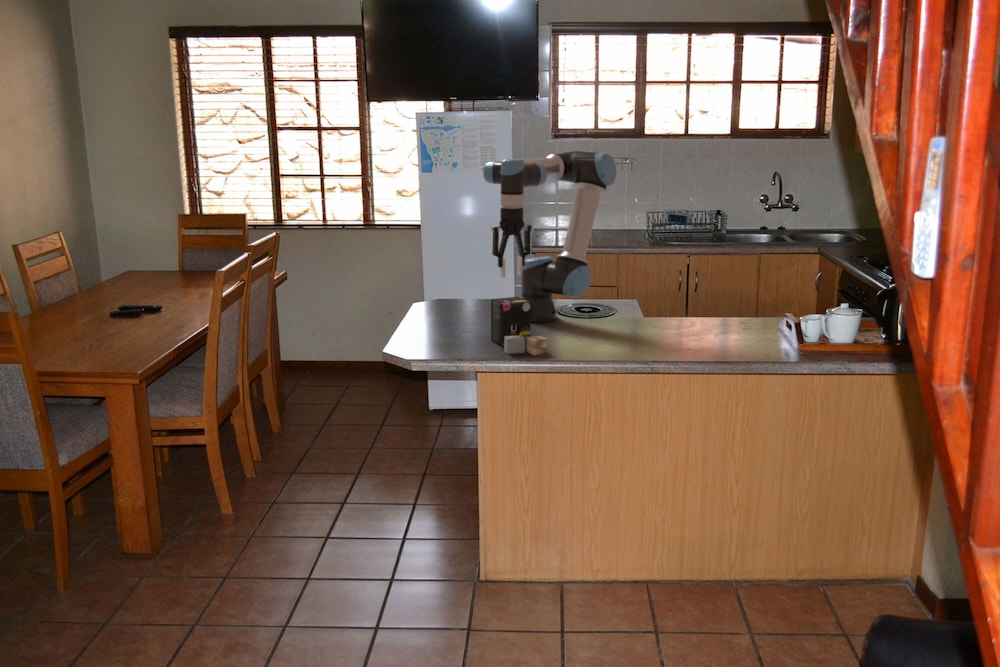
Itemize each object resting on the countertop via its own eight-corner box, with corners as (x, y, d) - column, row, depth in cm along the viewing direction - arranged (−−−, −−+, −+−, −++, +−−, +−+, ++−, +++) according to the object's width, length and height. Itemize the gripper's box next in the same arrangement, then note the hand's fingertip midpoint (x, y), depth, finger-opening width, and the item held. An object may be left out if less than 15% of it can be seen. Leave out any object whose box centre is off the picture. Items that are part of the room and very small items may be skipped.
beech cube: (538, 349, 296) (538, 334, 295) (546, 353, 292) (547, 338, 291) (525, 351, 294) (526, 336, 293) (533, 355, 290) (533, 340, 288)
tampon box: (502, 346, 299) (502, 304, 295) (490, 340, 307) (490, 298, 303) (531, 343, 304) (531, 301, 300) (518, 336, 312) (518, 295, 308)
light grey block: (522, 349, 296) (522, 334, 295) (524, 353, 292) (524, 337, 291) (504, 350, 295) (504, 335, 294) (506, 354, 291) (506, 338, 290)
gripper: (533, 204, 300) (532, 272, 306) (481, 206, 294) (481, 275, 300) (542, 207, 293) (540, 276, 299) (489, 209, 287) (488, 280, 293)
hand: (511, 276), depth 300 cm, fingers open, 5 cm apart
